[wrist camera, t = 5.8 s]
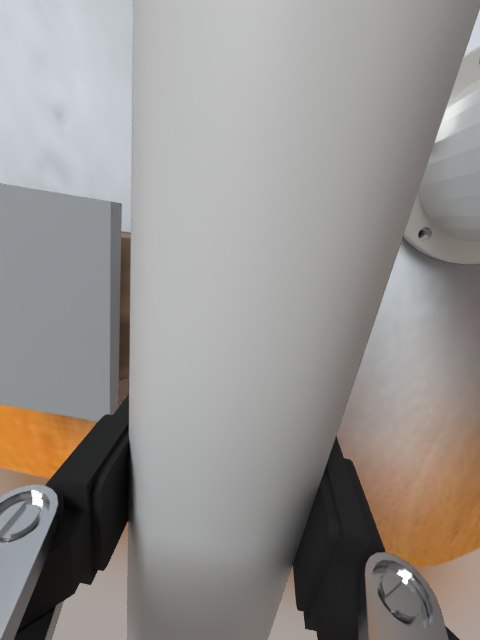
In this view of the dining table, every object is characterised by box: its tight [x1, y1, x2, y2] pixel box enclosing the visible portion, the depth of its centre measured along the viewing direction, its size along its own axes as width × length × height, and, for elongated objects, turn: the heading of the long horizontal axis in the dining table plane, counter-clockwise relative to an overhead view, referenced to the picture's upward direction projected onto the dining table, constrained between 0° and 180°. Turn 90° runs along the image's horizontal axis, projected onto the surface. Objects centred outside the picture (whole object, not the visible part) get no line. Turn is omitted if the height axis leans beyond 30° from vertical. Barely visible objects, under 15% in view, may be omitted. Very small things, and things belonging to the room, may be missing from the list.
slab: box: [0, 183, 122, 422], centre depth 17 cm, size 12×14×1 cm
